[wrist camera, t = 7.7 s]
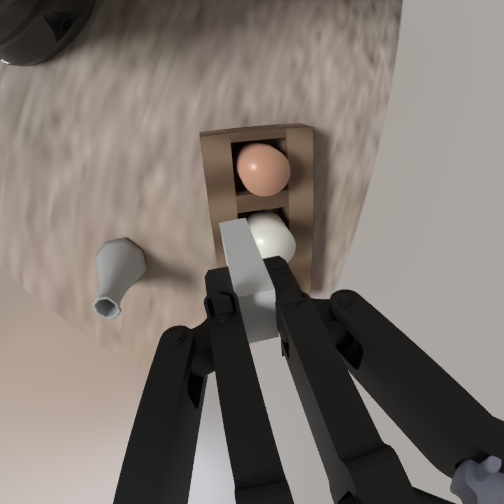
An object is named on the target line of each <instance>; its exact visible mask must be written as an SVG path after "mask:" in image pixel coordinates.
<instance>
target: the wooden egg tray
mask: <svg viewBox="0 0 504 504" xmlns="http://www.w3.org/2000/svg"><path fill="white" fill-rule="evenodd" d="M274 138H277V141H278V151H279V152H281V153H282V154H283V155H284V156H285V157H286V158H287V160H288V162H289V165H290V178H289V180H288V183H287V184H286V186H285V187H284V188H283V189H282V190H281V191H280V192H278V193H276V194H274V195H271V196H258V195H255V194H253V193H251V192H250V191H249V190H248V189H247V188H246V187H245V185H244V184H241V185H234V174H233V164H232V153H231V143H233V142H242V141H251V140H262V139H274ZM200 140H201V149H202V157H203V165H204V173H205V181H206V188H207V196H208V203H209V210H210V217H211V224H212V231H213V238H214V245H215V252H216V258H217V265H218V268H222V267H227V263H226V258H225V252H224V247H223V242H222V236H221V230H220V225H219V223H220V222H226V221H231V220H236V219H238V215H237V213H242V212H249V211H256V210H264V209H271V208H279V207H280V211H281V219H282V221H283V222H284V224H285V225H286V227H287V228H288V230H289V231H290V233H291V234H292V236H293V238H294V240H295V243H296V249H295V253H294V255H293V257H292V258H291V260H290V261H289V262H288V265H289V268H290V269H291V271H292V273H293V275H294V277H295V279H296V281H297V283H298V285H299V287H300V288H301V290H302V291H303V292H305V293H307V294H308V295H309V296H310V293H311V273H312V247H313V198H314V164H313V127H310V126H307V125H304V124H301V123H298V124H279V125H265V126H253V127H242V128H232V129H223V130H215V131H207V132H200Z"/></svg>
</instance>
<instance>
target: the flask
mask: <svg viewBox="0 0 504 504" xmlns="http://www.w3.org/2000/svg"><path fill="white" fill-rule="evenodd" d="M95 262H96V267H97V273H98V281H99V293H98V297H97V299H96V300H95V301H94V302H93V304H92V306H93V308H94V310H95V312H96V314H97V315H99V316H101V317H102V318H104V319H105V320H107V319H114V318H116V317H117V316H118V315H119V314H120V312H121V308H120V303H121V299H122V298H123V296H124V294H125V292H126V291H127V290H128V289H129V288H130V287H131V286H132V285H133V284H134V283H135V282H136V281H137V280H138V279H139V278H140V277H141V276H142V275H143V273H144V272H145V271H146V270H147V269H148V268H147V265H146V262H145V259H144V256H143V252H142V250H140V249H139V248H138V247H136V246H135V245H134V244H133V243H131V242H130V241H129V240H127V239H126V238H122V239H117V240H112V241H108V242H105V243H104V245H103V246H102V247H101V249H100V250H99V251H98V253H97V254H96V255H95Z"/></svg>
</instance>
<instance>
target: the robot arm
mask: <svg viewBox="0 0 504 504" xmlns="http://www.w3.org/2000/svg"><path fill="white" fill-rule="evenodd" d="M94 4H95V0H0V61H1V62H3V63H5V64H8V65H14V66H30V65H35V64H38V63H41V62H43V61H45V60H47V59H49V58H51V57H53V56H54V55H56V54H57V53H59V52H60V51H61V50H63V49H64V48H65V47H66V46H67V45H68V44H69V43H70V42H71V41H72V40H73V39H74V38H75V37H76V36H77V35H78V33H79V32H80V31H81V29H82V28H83V26H84V25H85V23H86V22H87V20H88V18H89V16H90V14H91V12H92V10H93V7H94ZM219 225H220V230H221V236H222V242H223V247H224V252H225V258H226V263H227V267H222V268H217V269H212V270H208V272H207V274H206V276H205V283H206V292H207V296H206V298H205V299H204V306H205V310H206V313H207V319H206V320H205V321H204V322H203V323H202V324H201V325H199V326H197V327H195V328H193V329H190V328H188V327H186V326H181V325H179V326H173V327H171V328H169V329H167V330H166V331H165V332H164V333H163V334H162V336H161V338H160V341H159V344H158V347H157V350H156V353H155V356H154V359H153V362H152V365H151V368H150V371H149V375H148V378H147V381H146V384H145V387H144V391H143V394H142V397H141V400H140V404H139V407H138V411H137V414H136V417H135V421H134V425H133V428H132V431H131V435H130V438H129V442H128V446H127V449H126V453H125V457H124V461H123V465H122V469H121V473H120V477H119V481H118V485H117V489H116V494H115V497H114V502H113V504H188V497H189V490H190V484H191V477H192V470H193V464H194V457H195V451H196V444H197V438H198V432H199V425H200V419H201V413H202V407H203V401H204V395H205V389H206V383H207V377H208V376H207V375H208V374H210V373H212V372H214V371H215V373H216V380H217V387H218V394H219V400H220V406H221V412H222V418H223V424H224V430H225V436H226V441H227V446H228V452H229V457H230V463H231V468H232V473H233V478H234V483H235V500H236V504H294V502H293V498H292V495H291V492H290V489H289V485H288V482H287V480H286V478H285V474H284V471H283V468H282V465H281V461H280V457H279V454H278V450H277V447H276V444H275V440H274V436H273V433H272V429H271V425H270V422H269V418H268V414H267V411H266V407H265V403H264V400H263V396H262V392H261V389H260V385H259V381H258V377H257V374H256V370H255V366H254V362H253V358H252V355H251V350H250V347H249V343H253V342H257V341H262V340H266V339H270V338H275V337H278V331H279V334H280V337H281V347H282V356H285V357H286V360H287V363H288V366H289V369H290V372H291V374H292V377H293V380H294V383H295V386H296V389H297V392H298V394H299V397H300V400H301V403H302V406H303V409H304V411H305V414H306V417H307V420H308V423H309V426H310V429H311V431H312V434H313V437H314V440H315V443H316V445H317V448H318V451H319V454H320V457H321V459H322V462H323V465H324V468H325V471H326V474H327V477H328V480H329V485H330V492H331V495H332V498H333V501H334V504H455V503H453V502H450V501H447V500H444V499H442V498H439V497H437V496H434V495H432V494H429V493H427V492H424V491H422V490H420V489H417V488H415V487H412V485H411V483H410V481H409V479H408V477H407V475H406V472H405V470H404V468H403V466H402V464H401V462H400V460H399V458H398V455H397V454H396V452H395V450H394V449H393V448H392V447H391V446H389V445H387V444H385V443H384V442H383V441H382V439H381V438H380V436H379V434H378V431H377V429H376V427H375V425H374V423H373V421H372V419H371V417H370V415H369V413H368V410H367V409H366V407H365V404H364V402H363V400H362V398H361V396H360V394H359V392H358V390H357V388H356V386H355V384H354V382H353V380H352V378H351V376H350V374H349V372H350V373H351V374H352V375H353V376H354V378H355V379H356V380H357V381H358V382H359V383H360V384H361V385H362V386H363V387H364V389H365V390H366V391H367V392H368V393H369V394H370V395H371V397H372V398H373V399H374V400H375V401H376V402H377V403H378V405H379V406H380V407H381V408H382V409H383V410H384V411H385V412H386V413H387V415H388V416H389V417H390V418H391V419H392V420H393V421H394V422H395V423H396V425H397V426H398V427H399V428H400V429H401V430H402V431H403V432H404V434H405V435H406V436H407V437H408V438H409V439H410V440H411V441H412V443H413V444H414V445H415V446H416V447H417V448H418V449H419V450H420V451H421V453H422V454H423V455H424V456H425V457H426V458H427V459H428V460H429V461H430V462H431V463H432V464H433V465H434V466H435V467H436V468H437V469H438V470H440V471H441V472H442V473H444V474H445V475H447V476H448V477H450V478H452V484H451V486H450V491H451V492H452V493H453V494H455V495H457V496H458V497H459V498H460V499H461V501H462V503H463V504H504V421H502V420H500V419H497V418H495V417H493V416H492V415H491V414H490V413H489V412H488V411H487V410H486V409H485V408H484V407H483V406H482V405H480V403H479V402H477V401H476V400H475V399H474V398H473V397H472V396H471V395H470V394H469V393H468V392H467V391H466V390H465V389H464V388H463V387H462V386H460V384H458V382H456V381H455V380H454V379H453V378H452V377H451V376H450V375H449V374H448V373H447V372H445V370H444V369H442V368H441V367H440V366H439V365H438V364H437V363H436V362H435V361H434V360H433V359H432V358H430V357H429V356H428V355H427V354H426V353H425V352H424V351H423V350H422V349H421V348H419V347H418V346H417V345H416V344H415V343H414V342H413V341H412V340H410V339H409V338H408V337H407V336H406V335H405V334H404V333H403V332H402V331H400V330H399V329H398V328H397V327H396V326H395V325H394V324H392V323H391V322H390V321H389V320H388V319H387V318H386V317H384V316H383V315H382V314H381V313H380V312H379V311H378V310H376V309H375V308H374V307H373V306H372V305H371V304H369V303H368V302H367V301H366V300H365V299H363V297H361V296H360V295H359V294H358V293H356V292H354V291H352V290H339V291H336V292H334V293H333V294H332V295H331V297H330V299H314V298H310V296H309V295H308V294H307V293H305V292H303V291H302V290H301V288H300V287H299V285H298V283H297V281H296V279H295V277H294V275H293V273H292V271H291V269H290V268H289V265H288V263H287V262H286V260H285V259H283V258H282V257H280V256H274V257H269V258H264V259H262V257H261V254H260V252H259V249H258V247H257V245H256V242H255V240H254V237H253V235H252V233H251V230H250V228H249V225H248V223H247V220H246V218H242V219H236V220H231V221H226V222H220V223H219ZM348 371H349V372H348Z"/></svg>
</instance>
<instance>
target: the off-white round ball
mask: <svg viewBox="0 0 504 504" xmlns="http://www.w3.org/2000/svg"><path fill="white" fill-rule="evenodd" d="M246 220H247V223H248V225H249V228H250V230H251V233H252V235H253V237H254V240H255V242H256V245H257V247H258V249H259V252H260V254H261V257H262V259H264V258H269V257H274V256H280V257H282V258H283V259H285V260H286V262H287V263H288V262H289V261H290V260H291V258H292V257H293V255H294V253H295V249H296V243H295V240H294V238H293V236H292V234H291V233H290V231H289V230H288V228H287V227H286V225H285V224H284V222H283V221H282V219H281V218H280V217H279V216H278V215H277V214H276V213H274V212H272V211H269V210H261V211H257V212H255V213H253V214H252V215H250V216H249V217H248V218H247V219H246Z"/></svg>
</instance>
